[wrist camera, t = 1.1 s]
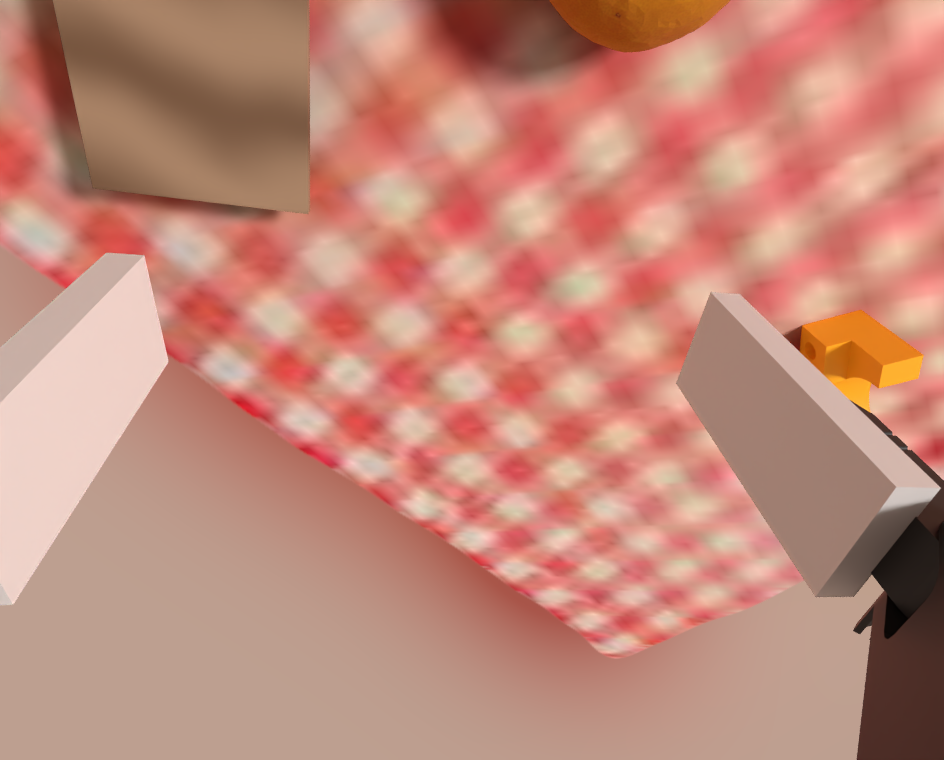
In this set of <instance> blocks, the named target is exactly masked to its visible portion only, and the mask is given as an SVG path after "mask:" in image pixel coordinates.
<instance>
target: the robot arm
mask: <svg viewBox="0 0 944 760" xmlns="http://www.w3.org/2000/svg"><path fill="white" fill-rule="evenodd" d="M167 363H168V357H167V353H166V349H165V344H164V340H163V335H162V331H161V327H160V322H159V318H158V314H157V309H156V305H155V300H154V296H153V292H152V287H151V283H150V279H149V274H148V270H147V265H146V261H145V257H144V255H132V254H117V253H105V254H104V255H103V256H102V257H101V258H100V259H99V260H98V261H96V262H95V263H94V264H93V265H92V266H91V267H90V268H89V269H88V270H86V271H85V272H84V273H83V274H82V275H81V276H80V277H79V278H77V279H76V280H75V281H74V282H73V283H72V284H71V285H70V286H68V287H67V288H66V289H65V290H64V291H63V292H62V293H61V294H59V295H58V296H57V297H56V298H55V299H54V300H53V301H52V302H51V303H49V304H48V305H47V306H46V307H45V308H44V309H43V310H41V311H40V312H39V313H38V314H37V315H36V316H35V317H34V318H33V319H31V320H30V321H29V322H28V323H27V324H26V325H25V326H23V327H22V328H21V329H20V330H19V331H18V332H17V333H16V334H14V335H13V336H12V337H11V338H10V339H9V340H8V341H7V342H6V343H5V344H3V345H2V346H1V347H0V605H13V604H14V602H15V601H16V599H17V598H18V596H19V594H20V593H21V591H22V590H23V588H24V587H25V585H26V584H27V582H28V580H29V579H30V577H31V576H32V574H33V573H34V571H35V570H36V568H37V566H38V565H39V563H40V562H41V560H42V559H43V557H44V555H45V554H46V552H47V551H48V549H49V548H50V546H51V544H52V543H53V541H54V540H55V538H56V537H57V535H58V534H59V532H60V531H61V529H62V527H63V526H64V524H65V523H66V521H67V520H68V518H69V516H70V515H71V513H72V512H73V510H74V509H75V507H76V505H77V504H78V502H79V501H80V499H81V498H82V496H83V495H84V493H85V491H86V490H87V488H88V487H89V485H90V484H91V482H92V480H93V479H94V477H95V476H96V474H97V473H98V471H99V470H100V468H101V466H102V465H103V463H104V462H105V460H106V459H107V457H108V456H109V454H110V452H111V451H112V449H113V448H114V446H115V445H116V443H117V441H118V440H119V438H120V437H121V435H122V433H123V432H124V431H125V429H126V427H127V426H128V424H129V423H130V421H131V420H132V418H133V416H134V415H135V413H136V412H137V410H138V409H139V407H140V406H141V404H142V402H143V401H144V399H145V398H146V396H147V394H148V393H149V391H150V390H151V388H152V387H153V385H154V384H155V382H156V380H157V379H158V377H159V376H160V374H161V373H162V371H163V369H164V368H165V366H166V365H167ZM676 384H677V385H678V387H679V388H680V390H681V391H682V393H683V395H684V396H685V398H686V399H687V401H688V402H689V404H690V405H691V407H692V408H693V410H694V411H695V413H696V414H697V416H698V418H699V419H700V421H701V422H702V424H703V425H704V427H705V428H706V430H707V431H708V433H709V434H710V436H711V437H712V439H713V441H714V442H715V444H716V445H717V447H718V448H719V450H720V451H721V453H722V454H723V456H724V457H725V459H726V461H727V462H728V464H729V465H730V467H731V468H732V470H733V471H734V473H735V474H736V476H737V477H738V479H739V480H740V482H741V484H742V485H743V487H744V488H745V490H746V491H747V493H748V494H749V496H750V497H751V499H752V500H753V502H754V503H755V505H756V507H757V508H758V510H759V511H760V513H761V514H762V516H763V517H764V519H765V520H766V522H767V523H768V525H769V526H770V528H771V530H772V531H773V533H774V534H775V536H776V537H777V539H778V540H779V542H780V543H781V545H782V546H783V548H784V549H785V551H786V553H787V554H788V556H789V557H790V559H791V560H792V562H793V563H794V565H795V566H796V568H797V569H798V571H799V572H800V574H801V576H802V577H803V579H804V580H805V582H806V583H807V585H808V586H809V588H810V589H811V590H812V592H813V594H814V595H815V597H852V596H853V597H854V596H855V595H856V593H857V592H858V591H859V590H860V588H861V587H862V586H863V585H864V583H865V582H866V581H867V580H868V578H869V577H870V576H871V575H873V576H874V578H875V579H876V580H877V581H878V583H879V584H880V585H881V587H882V588H883V589H884V592H883V593H882V594H881V595H880V597H879V598H878V599H877V600H876V601H875V602H874V604H873V605H872V606H871V607H870V608H869V609H868V611H867V612H866V613H865V614H864V615H863V617H862V618H861V619H860V620H859V621H858V623H857V624H856V626H855V628H854V630H853V631H855V632H857V633H858V634H860V633H861V632H862V631H863V630H864V629H865V628H866V627H867V626H872V629H871V638H870V647H869V655H868V665H867V673H866V682H865V692H864V700H863V709H862V717H861V726H860V735H859V744H858V753H857V760H944V480H942V479H941V478H940V477H939V476H938V475H937V474H936V473H935V472H934V471H933V470H932V469H931V468H930V467H929V466H928V465H927V464H926V463H924V462H923V461H922V460H921V459H920V458H919V457H918V456H917V455H916V454H915V453H914V452H913V451H912V450H907V447H908V446H906V445H905V444H904V443H903V442H902V441H901V440H900V439H899V438H898V437H897V436H893V435H892V431H891V430H890V429H888V428H887V427H886V426H885V425H884V424H883V423H882V422H881V421H880V420H879V419H878V418H877V417H876V416H875V415H873V414H872V413H870V412H869V411H867V410H865V409H864V408H862V407H861V406H859V405H857V404H856V403H854V402H853V401H851V400H849V399H848V398H847V397H846V396H845V395H844V394H843V393H842V392H841V391H840V390H839V389H838V388H837V387H836V386H835V385H834V384H832V383H831V382H830V381H829V380H828V379H827V378H826V377H825V376H824V375H823V374H822V373H821V372H820V371H819V370H818V369H817V368H816V367H815V366H814V365H813V364H812V363H811V362H810V361H809V360H808V359H807V358H805V357H804V356H803V355H802V354H801V353H800V352H799V351H798V350H797V349H796V348H795V347H794V346H793V345H792V344H791V343H790V342H789V341H788V340H787V339H786V338H785V337H784V336H783V335H782V334H781V333H780V332H778V331H777V330H776V329H775V328H774V327H773V326H772V325H771V324H770V323H769V322H768V321H767V320H766V319H765V318H764V317H763V316H762V315H761V314H760V313H759V312H758V311H757V310H756V309H755V308H754V307H753V306H751V305H750V304H749V303H748V302H747V301H746V300H745V299H744V298H743V297H742V296H741V295H740V294H731V293H716V292H711V293H710V295H709V298H708V301H707V303H706V306H705V309H704V311H703V314H702V317H701V319H700V322H699V324H698V327H697V330H696V332H695V335H694V338H693V340H692V343H691V346H690V348H689V351H688V353H687V356H686V359H685V361H684V364H683V367H682V369H681V372H680V375H679V377H678V380H677V382H676Z"/></svg>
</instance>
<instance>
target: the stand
mask: <svg viewBox="0 0 944 760" xmlns="http://www.w3.org/2000/svg"><path fill="white" fill-rule="evenodd" d="M53 4H54V9H55V14H56V18H57V23H58V28H59V32H60V37H61V42H62V46H63V51H64V56H65V61H66V65H67V70H68V75H69V79H70V84H71V89H72V93H73V98H74V103H75V107H76V112H77V117H78V121H79V126H80V131H81V136H82V140H83V145H84V150H85V154H86V159H87V164H88V168H89V173H90V178H91V182H92V187H93V188H95V189H104V190H112V191H120V192H129V193H137V194H145V195H154V196H162V197H170V198H179V199H187V200H195V201H203V202H212V203H220V204H228V205H237V206H245V207H253V208H262V209H270V210H278V211H287V212H295V213H303V214H309V212H310V58H309V0H53Z"/></svg>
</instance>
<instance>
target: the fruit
mask: <svg viewBox="0 0 944 760" xmlns="http://www.w3.org/2000/svg"><path fill="white" fill-rule="evenodd" d="M549 1H550V3H551V4H552V5H553V6H554V8H555V9H556V10H557V12H558V13H559V14H560V15H561V17H562V18H563V19H564V20H565V21H566V22H567V23H568V24H569V25H570V26H571V27H572V28H573V29H574V30H575V31H576V32H578V33H579V34H581V35H582V36H584V37H585V38H587V39H589V40H590V41H592V42H594V43H597V44H600V45H602V46H605V47H607V48H610V49H612V50H616V51H621V52H640V51H645V50H649V49H653V48H656V47H658V46H661V45H664V44H667V43H670V42H672V41H674V40H676V39H679V38H681V37H683V36H685V35H687V34H688V33H690V32H693V31H695V30H696V29H698V28H699V27H701V26H703V25H704V24H705V23H706V22H708V21H709V20H710V19H711V18H712V17H713V16H714V15H715V14H716V13H717V12H718V11H719V10H721V9H722V8H723V7H724V6H725V5H726V4H727V3H728V2H729V1H730V0H549Z"/></svg>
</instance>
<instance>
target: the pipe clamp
mask: <svg viewBox="0 0 944 760" xmlns="http://www.w3.org/2000/svg"><path fill="white" fill-rule="evenodd" d="M800 353H801V354H802V355H803V356H804V357H805V358H807V359H808V360H809V361H810V362H811V363H812V364H813V365H814V366H815V367H816V368H817V369H818V370H819V371H820V372H821V373H822V374H823V375H824V376H825V377H826V378H827V379H828V380H829V381H830V382H831V383H832V384H834V385H835V386H836V387H837V388H838V389H839V390H840V391H841V392H842V393H843V394H844V395H845V396H846V397H847V398H848V399H849V400H851V401H853V402H854V403H856V404H857V405H859V406H861V407H862V408H864V409H865V410H867V411H869V412H870V407H869V391H870V386H871V383H872V384H873V385H875V386H876V387H877V388H882V387H886V386H890V385H894V384H898V383H902V382H906V381H910V380H914V379H918V376H919V372H920V368H921V364H922V360H923V354H921V353H920V352H919V351H917V350H916V349H914V348H913V347H912V346H910V345H909V344H908V343H906V342H905V341H903V340H902V339H901V338H899V337H898V336H897V335H895V334H894V333H892V332H891V331H890V330H888V329H887V328H886V327H884V326H883V325H881V324H880V323H879V322H877V321H876V320H875V319H873V318H872V317H870V316H869V315H868V314H866V313H865V312H864V311H862V310H858V311H854V312H851V313H847V314H843V315H839V316H835V317H832V318H828V319H824V320H820V321H817V322H813V323H809V324H805V325H802V331H801V342H800Z"/></svg>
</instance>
